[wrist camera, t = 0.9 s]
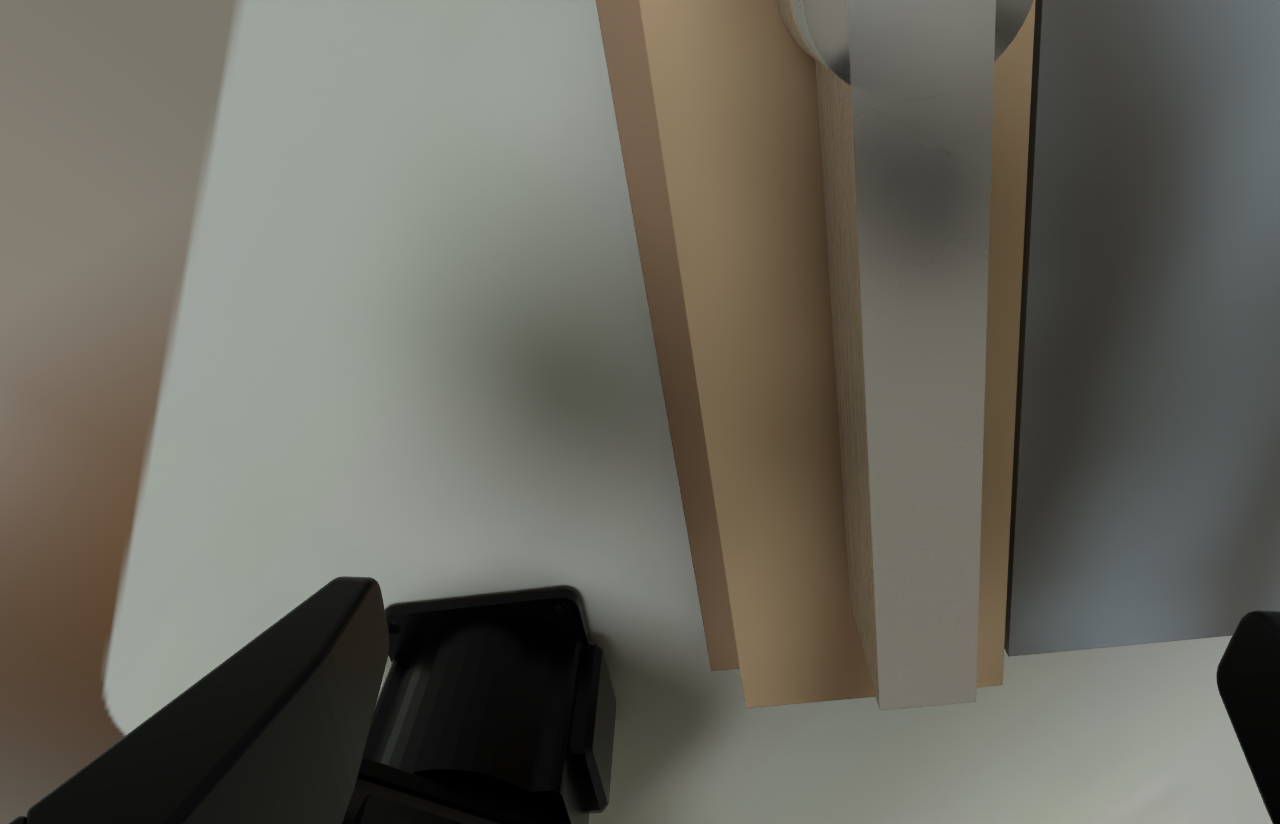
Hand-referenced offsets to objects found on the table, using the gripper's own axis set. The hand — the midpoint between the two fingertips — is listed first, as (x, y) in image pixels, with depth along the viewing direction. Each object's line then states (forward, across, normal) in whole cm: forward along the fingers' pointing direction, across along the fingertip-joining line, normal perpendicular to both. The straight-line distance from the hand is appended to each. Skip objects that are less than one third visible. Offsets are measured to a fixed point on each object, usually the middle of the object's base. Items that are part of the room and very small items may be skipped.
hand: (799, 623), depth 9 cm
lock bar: (+10, -3, 0) cm, 10 cm away
